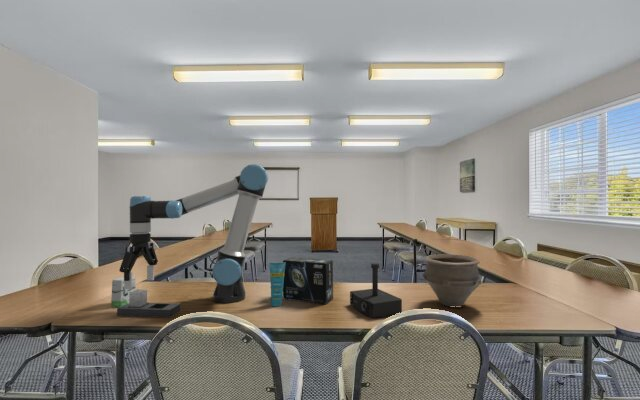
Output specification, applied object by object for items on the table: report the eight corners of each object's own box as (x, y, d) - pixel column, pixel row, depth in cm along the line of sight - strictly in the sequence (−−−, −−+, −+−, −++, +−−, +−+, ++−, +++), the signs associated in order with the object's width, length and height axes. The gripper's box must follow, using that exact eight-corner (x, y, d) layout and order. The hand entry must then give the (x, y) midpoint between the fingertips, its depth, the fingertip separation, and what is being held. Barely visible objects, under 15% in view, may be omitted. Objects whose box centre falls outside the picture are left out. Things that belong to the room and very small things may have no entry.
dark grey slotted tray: (180, 310, 124) (180, 303, 125) (169, 317, 116) (169, 309, 117) (130, 309, 126) (131, 302, 126) (116, 315, 118) (117, 308, 118)
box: (282, 298, 143) (282, 259, 143) (291, 293, 152) (292, 256, 153) (326, 305, 134) (326, 263, 134) (333, 299, 143) (334, 259, 144)
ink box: (120, 307, 128) (121, 280, 128) (110, 307, 129) (111, 279, 129) (135, 301, 136) (136, 276, 137) (126, 301, 137) (127, 275, 137)
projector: (345, 305, 134) (346, 261, 134) (376, 301, 140) (376, 259, 141) (368, 320, 116) (369, 269, 117) (403, 314, 123) (402, 266, 123)
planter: (494, 309, 130) (494, 259, 131) (461, 318, 118) (461, 263, 119) (444, 294, 151) (444, 251, 152) (412, 301, 139) (412, 254, 140)
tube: (268, 307, 130) (269, 263, 130) (268, 303, 135) (268, 261, 135) (285, 306, 131) (286, 263, 132) (284, 302, 136) (285, 261, 137)
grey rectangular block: (146, 311, 124) (147, 289, 124) (139, 315, 119) (140, 292, 119) (136, 310, 124) (137, 289, 124) (128, 314, 119) (129, 292, 120)
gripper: (150, 230, 135) (150, 277, 135) (108, 235, 110) (107, 292, 110) (166, 230, 135) (166, 277, 134) (127, 235, 110) (127, 292, 109)
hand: (140, 284), depth 122 cm, fingers open, 13 cm apart
